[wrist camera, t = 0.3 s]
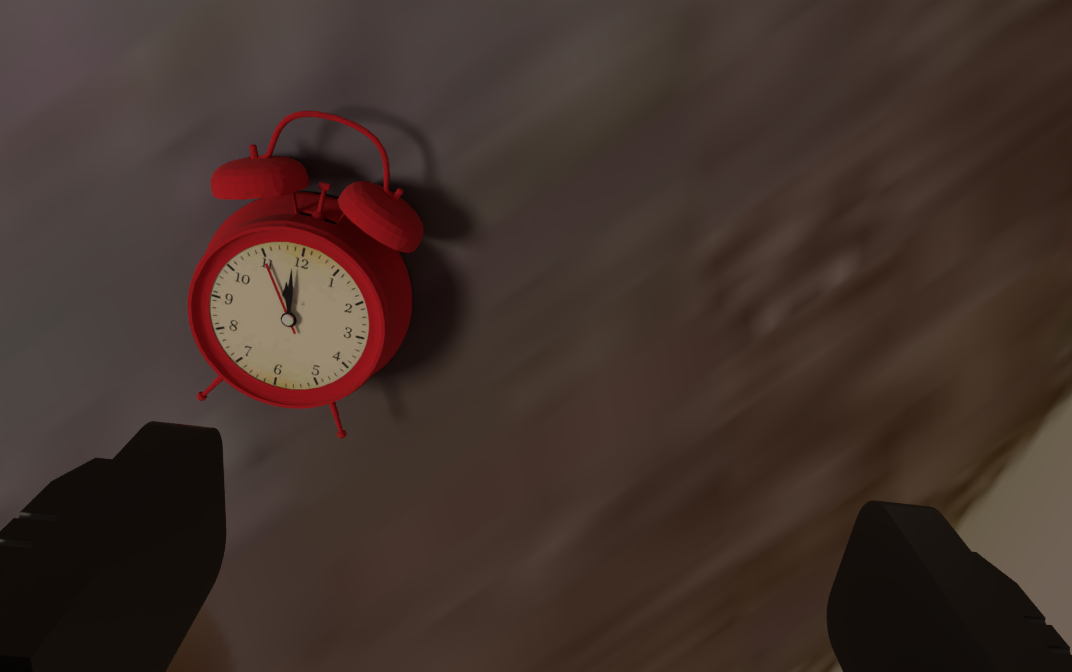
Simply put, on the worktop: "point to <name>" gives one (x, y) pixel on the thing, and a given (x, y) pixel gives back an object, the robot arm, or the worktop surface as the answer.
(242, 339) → the alarm clock
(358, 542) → the worktop surface
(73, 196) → the worktop surface
